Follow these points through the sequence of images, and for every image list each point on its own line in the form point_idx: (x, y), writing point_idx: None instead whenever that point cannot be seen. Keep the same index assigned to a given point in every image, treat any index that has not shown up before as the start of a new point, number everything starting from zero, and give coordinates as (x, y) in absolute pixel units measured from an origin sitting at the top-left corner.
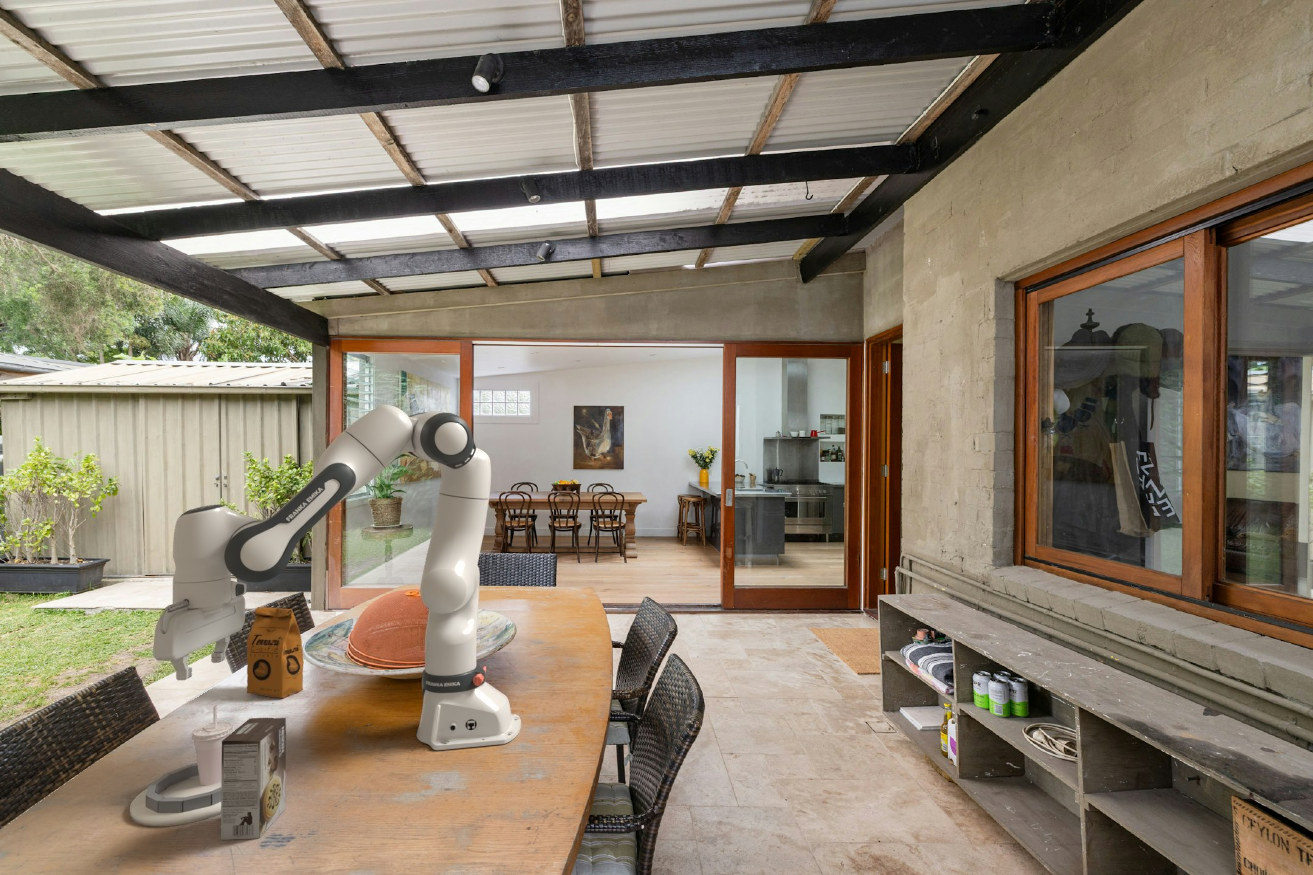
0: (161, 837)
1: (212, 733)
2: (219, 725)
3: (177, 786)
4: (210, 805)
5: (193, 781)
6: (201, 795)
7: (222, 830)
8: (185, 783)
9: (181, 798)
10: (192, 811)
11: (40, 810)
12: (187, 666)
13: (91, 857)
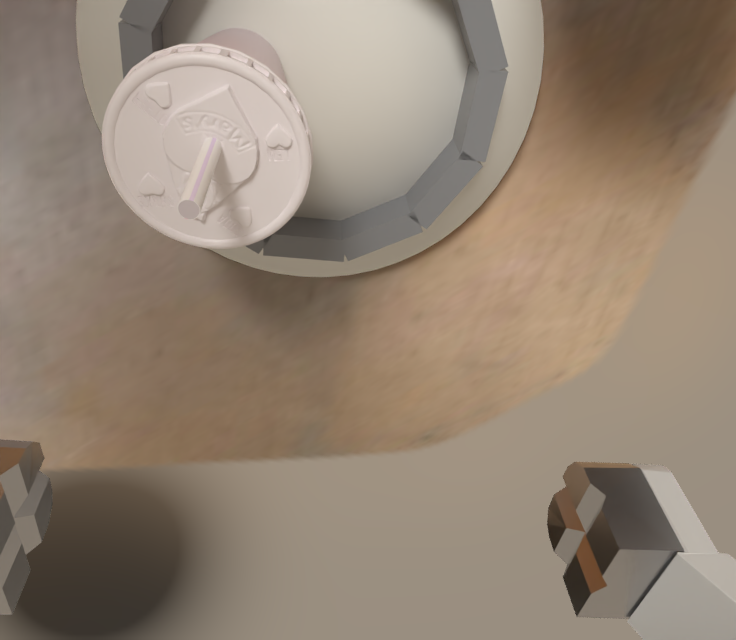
0: (608, 57)
1: (279, 125)
2: (175, 137)
3: None
4: None
5: None
6: (480, 7)
7: None
8: None
9: (486, 84)
10: (498, 19)
11: (350, 450)
12: (727, 587)
13: (650, 206)
